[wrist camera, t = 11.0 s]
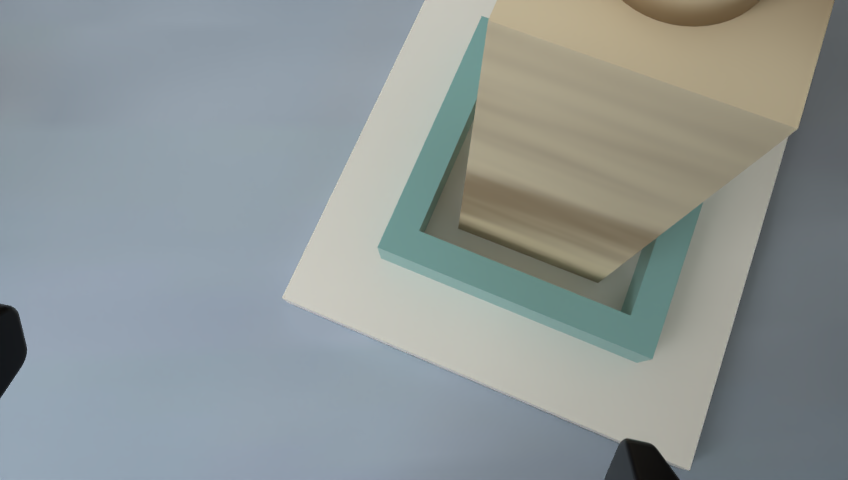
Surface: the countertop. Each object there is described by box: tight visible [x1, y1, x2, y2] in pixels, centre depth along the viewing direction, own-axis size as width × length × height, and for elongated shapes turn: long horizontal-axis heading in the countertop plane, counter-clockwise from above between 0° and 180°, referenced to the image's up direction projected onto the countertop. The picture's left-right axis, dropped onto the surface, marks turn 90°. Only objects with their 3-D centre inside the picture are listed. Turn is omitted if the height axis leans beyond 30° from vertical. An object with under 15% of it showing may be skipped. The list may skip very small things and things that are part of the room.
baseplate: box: [282, 0, 788, 471], centre depth 22 cm, size 14×14×2 cm
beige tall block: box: [458, 0, 834, 283], centre depth 16 cm, size 5×5×13 cm
